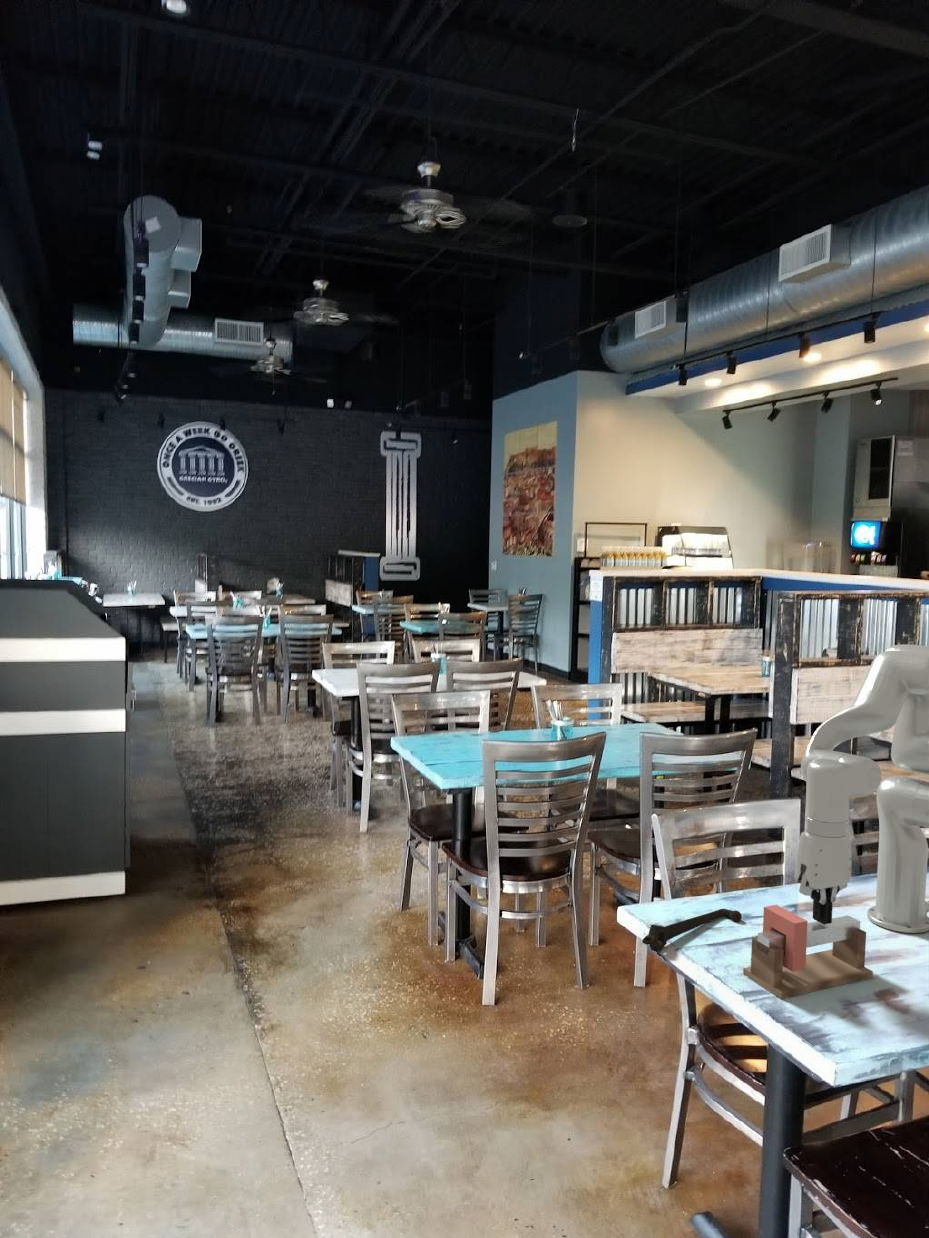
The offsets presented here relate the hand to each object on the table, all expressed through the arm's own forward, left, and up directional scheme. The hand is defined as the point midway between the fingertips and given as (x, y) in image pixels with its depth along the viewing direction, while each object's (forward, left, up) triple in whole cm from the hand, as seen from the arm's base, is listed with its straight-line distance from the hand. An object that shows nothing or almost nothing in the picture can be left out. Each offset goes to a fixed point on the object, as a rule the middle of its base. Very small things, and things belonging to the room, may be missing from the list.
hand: (822, 921), depth 171 cm
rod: (+3, 0, -4) cm, 5 cm away
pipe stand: (+3, 0, -10) cm, 11 cm away
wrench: (+12, -22, -11) cm, 27 cm away
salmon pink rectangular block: (+9, 0, -6) cm, 11 cm away
